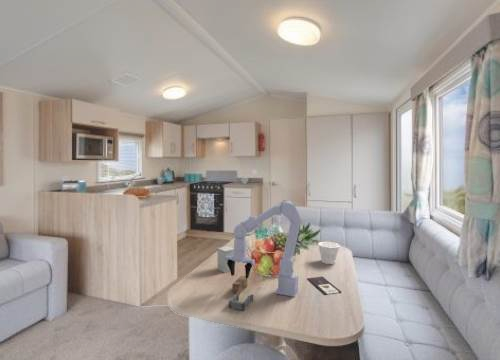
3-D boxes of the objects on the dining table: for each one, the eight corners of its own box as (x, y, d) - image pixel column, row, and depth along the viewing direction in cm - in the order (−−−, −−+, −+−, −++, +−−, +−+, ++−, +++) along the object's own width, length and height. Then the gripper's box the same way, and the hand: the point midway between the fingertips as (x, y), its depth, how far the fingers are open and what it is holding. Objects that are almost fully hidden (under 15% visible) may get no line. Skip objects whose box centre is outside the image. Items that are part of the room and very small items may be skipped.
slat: (241, 285, 146) (241, 275, 145) (247, 286, 144) (247, 277, 144) (232, 294, 136) (232, 283, 136) (239, 295, 135) (239, 285, 135)
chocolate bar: (322, 276, 155) (341, 291, 138) (322, 278, 155) (341, 293, 138) (307, 278, 153) (324, 293, 136) (307, 280, 153) (324, 295, 136)
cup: (336, 267, 170) (336, 248, 169) (315, 263, 176) (316, 245, 175) (340, 260, 181) (341, 243, 180) (321, 257, 187) (321, 240, 186)
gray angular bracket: (253, 300, 130) (253, 294, 129) (245, 311, 121) (245, 304, 120) (237, 297, 133) (237, 291, 133) (227, 307, 124) (227, 300, 124)
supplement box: (224, 273, 160) (224, 251, 159) (217, 269, 166) (217, 247, 165) (235, 270, 165) (235, 248, 164) (227, 266, 171) (227, 245, 170)
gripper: (222, 249, 138) (222, 277, 139) (250, 253, 132) (250, 282, 133) (229, 245, 144) (229, 271, 145) (256, 249, 139) (256, 276, 140)
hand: (239, 276), depth 140 cm, fingers open, 7 cm apart
